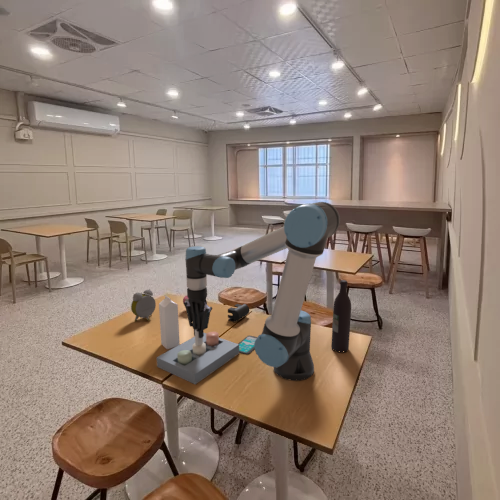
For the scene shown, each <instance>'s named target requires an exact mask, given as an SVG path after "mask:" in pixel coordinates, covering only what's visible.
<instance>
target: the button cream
mask: <svg viewBox="0 0 500 500" xmlns="http://www.w3.org/2000/svg"><path fill="white" fill-rule="evenodd" d="M192 346H193V354H195V355H197V356H201V355H203V354H205V353H206V344H205V343H204V342H203V344H201V345H200V346H196V345H195V343H194V344H193V345H192Z"/></svg>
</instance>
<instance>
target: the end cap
mask: <svg viewBox="0 0 500 500" xmlns="http://www.w3.org/2000/svg"><path fill="white" fill-rule="evenodd" d="M227 313H228V315H227V318H228V322H233V323H236V322H238V321H240V320H241V319H243V318H245V317H246V316H248V315H249V314H250V307H249V306H248V305H247V304H246V303H243V304H239V303H237V304H235V305H234V307H230V308H227Z"/></svg>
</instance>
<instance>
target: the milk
mask: <svg viewBox="0 0 500 500" xmlns="http://www.w3.org/2000/svg"><path fill="white" fill-rule="evenodd" d="M158 309H159V310H158V311H159V325H160V326H159V327H160V345H162V346H163V347H164V348H165V349H166V350H171V349H173V348H175V347H176V346H178V345H180V343H181V342H180V323H179V306H178V303H177V302H174V301H173V300H172V299H171V298H170V297H169V296H167V295H164V299H162V300H161V301H160V302H159V303H158Z"/></svg>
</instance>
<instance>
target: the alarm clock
mask: <svg viewBox="0 0 500 500" xmlns="http://www.w3.org/2000/svg"><path fill="white" fill-rule="evenodd" d="M153 295H154V293H153V291H152V290H151V289H150V288H149V289H146V290H143V293H142V292H135V293H134V294H133V295H132V301H131V304H130V309H131V310H130V311H131V312H132V313H133V315H135V318H134V322H137V320H138V319H139V318H141V319H142V318H143V319H146V320H147V321H148V322H149V321H151V320H150V316H151V317H152V316H153V315H152V314H154V311H155V310H156V304H157V303H156V299H155V298H154V297H153Z"/></svg>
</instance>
